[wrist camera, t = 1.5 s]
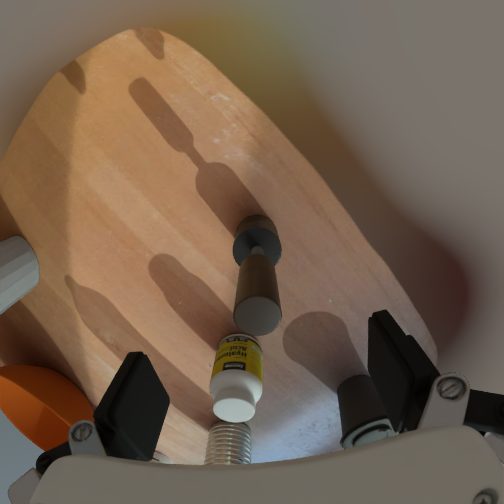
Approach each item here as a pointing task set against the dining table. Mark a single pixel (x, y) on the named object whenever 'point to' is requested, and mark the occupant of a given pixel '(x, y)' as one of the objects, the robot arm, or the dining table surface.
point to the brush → (257, 276)
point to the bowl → (42, 403)
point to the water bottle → (228, 444)
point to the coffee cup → (362, 413)
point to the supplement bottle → (236, 378)
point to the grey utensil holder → (16, 270)
